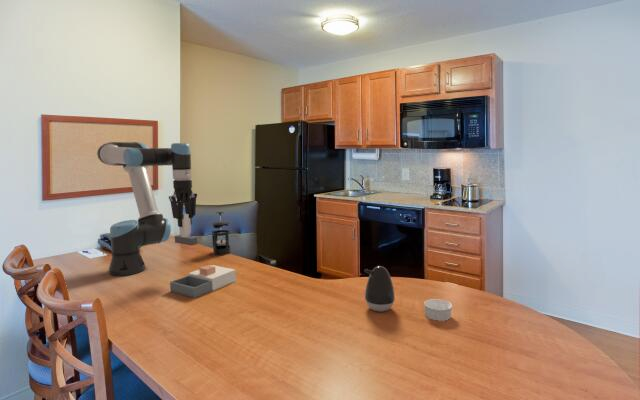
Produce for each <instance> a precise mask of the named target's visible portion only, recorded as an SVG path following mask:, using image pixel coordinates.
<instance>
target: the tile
mask: <svg viewBox="0 0 640 400" xmlns="http://www.w3.org/2000/svg"><path fill="white" fill-rule="evenodd" d="M198 270H199V271H200V274H203V275H210V274H213V273H215V272H216V271H215V267H214V266H211V265H208V264H207V265H204V266H201V267H199V268H198Z"/></svg>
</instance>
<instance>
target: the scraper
mask: <svg viewBox="0 0 640 400" xmlns="http://www.w3.org/2000/svg"><path fill="white" fill-rule="evenodd" d="M183 219H184V220H185V234H177V235H174V243H175V244H181V245H186V246H195V245H198V237H196V236H190V235H191V233H190V232H189V214H186V213H183Z"/></svg>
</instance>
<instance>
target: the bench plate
mask: <svg viewBox="0 0 640 400" xmlns="http://www.w3.org/2000/svg"><path fill="white" fill-rule="evenodd" d="M210 266H214V267H215V271H216V272H215V273H213V274H210V275H203V274H200V271H199V269H197V270H194V271H191V272H188V276H192V277H196V278H200V279H204V280H208V281H212V291H211V292H213V291H216V290H218V289H220V288H223V287H225V286H228V285H230V284H232V283H235V282H236V281H237V277H236V274H237V273H236V269H234V268H229V267H224V266H218V265H216V264H215V265H213V264H212V265H210Z"/></svg>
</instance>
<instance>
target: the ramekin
mask: <svg viewBox="0 0 640 400" xmlns="http://www.w3.org/2000/svg"><path fill="white" fill-rule="evenodd" d="M423 305H424V314H425V316H426V318H428V319H429V318H430V319H429V320H431V319H433V320H432V321H435V320H439V321H438V322H446V321H445V320H447V321H448V319H449V320H450V319H451V315H452V309H453V304H452V303H451V302H450V301H448V300H445V299H439V298H431V299H426V300H425V301H424V302H423Z"/></svg>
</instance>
